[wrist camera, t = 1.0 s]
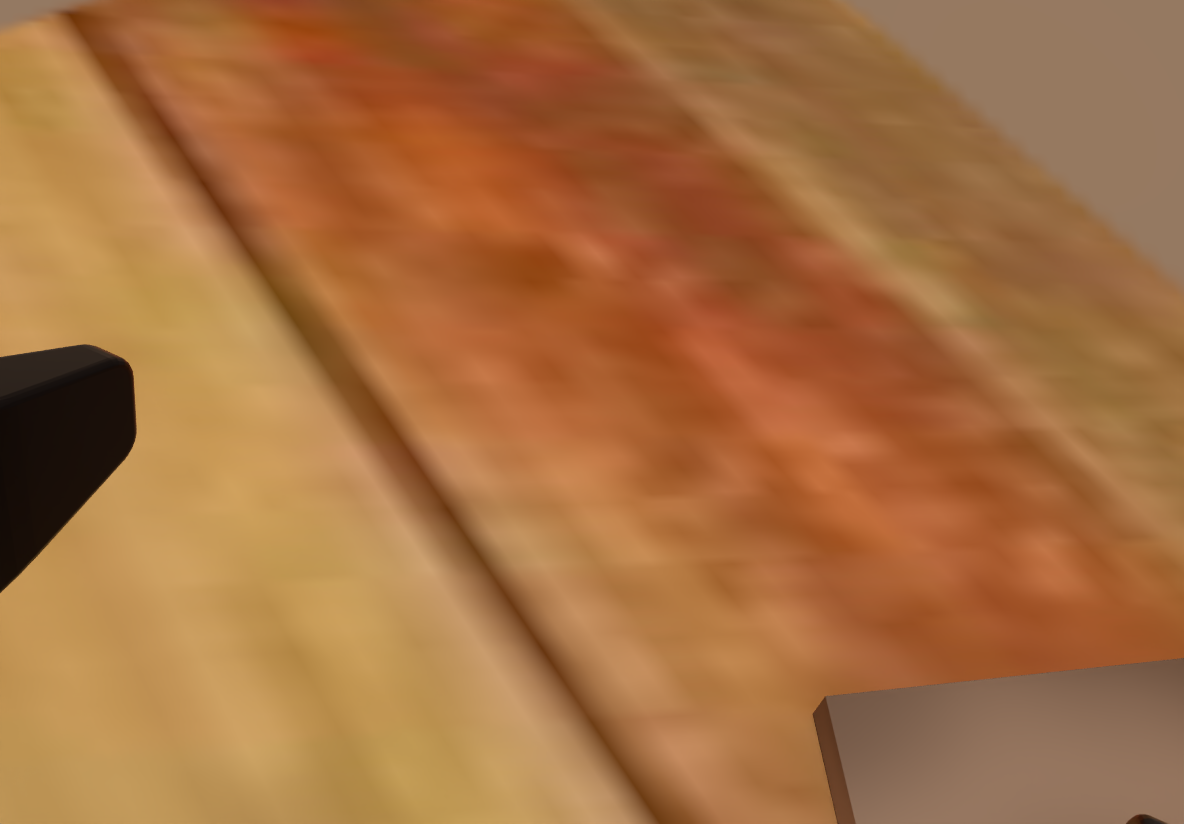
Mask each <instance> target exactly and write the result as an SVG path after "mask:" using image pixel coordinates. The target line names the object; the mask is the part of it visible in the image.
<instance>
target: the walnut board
mask: <svg viewBox="0 0 1184 824" xmlns="http://www.w3.org/2000/svg"><path fill="white" fill-rule="evenodd" d="M813 716H814V720H815V725H816V729H817V734H818V738H819V742H820V747H821V751H822V755H823V760H824V764H825V768H826V773H827V777H828V782H829V786H830V790H831V795H832V799H833V803H834V808H835V812H836V816H837V821H838V824H1126V823H1127V822H1128V820H1130V819H1131V818H1132V817H1134V816H1135V815H1138V814H1146V815H1150V816H1152V817H1155V818H1157V819H1159V820H1161V821H1163V822H1166V823H1168V824H1184V658H1181V659H1172V660H1162V661H1153V662H1143V663H1134V664H1125V665H1115V666H1106V667H1096V668H1087V669H1078V670H1068V671H1059V672H1049V673H1040V674H1031V675H1021V676H1012V677H1002V678H993V679H984V680H974V681H965V682H955V683H946V684H937V685H927V686H918V687H909V688H899V689H890V690H880V691H871V692H862V693H852V694H843V695H833V696H825V698H824V699H823V701H822V702H821V703H820V705H819V706H818V707H817V709H816V710H815V711H814V713H813Z"/></svg>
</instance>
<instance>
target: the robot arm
mask: <svg viewBox="0 0 1184 824" xmlns="http://www.w3.org/2000/svg"><path fill="white" fill-rule="evenodd" d="M136 429H137V428H136V411H135V393H134V376H133V371H132V369H131V367H130V365H129V363H128V362H127V361H125V360H124V359H123V358H121V357H119V356H117V355H114V354H112V353H110V352H108V351H105V350H103V349H101V348H99V347H96V346H92V345H86V344H84V345H76V346H69V347H63V348H56V349H50V350H43V351H37V352H31V353H24V354H18V355H11V356H5V357H0V593H1V592H2V591H3V590H4V589H5V588H6V587H7V586H8V585H9V584H10V583H11V582H12V581H13V580H14V579H16V578H17V577H18V576H19V575H20V574H21V573H22V571H23V570H24V569H25V568H26V567H27V566H28V565H29V564H30V563H31V562H32V561H33V560H34V559H35V558H36V557H37V556H38V555H39V554H40V552H41V551H42V550H43V549H44V548H45V547H46V546H47V545H48V544H49V543H50V541H51V540H52V539H53V538H54V537H55V536H56V535H57V534H58V533H59V532H60V530H61V529H62V528H63V527H64V526H65V525H66V524H67V523H68V522H69V520H70V519H71V518H72V517H73V516H74V515H75V514H76V513H77V512H78V511H79V509H80V508H81V507H82V506H83V505H84V504H85V503H86V502H87V501H88V499H89V498H90V497H91V496H92V495H93V494H94V493H95V492H96V491H97V490H98V488H99V487H100V486H101V485H102V484H103V483H104V482H105V481H106V480H107V479H108V477H109V476H110V475H111V474H112V473H113V472H114V471H115V470H116V469H117V467H118V466H119V465H120V464H121V463H122V462H123V461H124V460H125V458H126V457H127V456H128V454H129V452H130V451H131V449H132V447H133V444H134V442H135V438H136ZM1126 824H1168V823H1166V822H1163V821H1161V820H1159V819H1157V818H1155V817H1152V816H1150V815H1146V814H1138V815H1135V816H1134V817H1132V818H1131V819H1130V820H1128V822H1127V823H1126Z"/></svg>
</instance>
